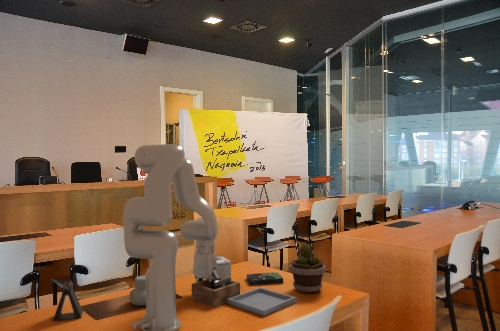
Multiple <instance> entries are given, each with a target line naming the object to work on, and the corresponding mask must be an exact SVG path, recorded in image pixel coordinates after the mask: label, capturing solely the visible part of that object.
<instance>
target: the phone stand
mask: <svg viewBox="0 0 500 331" xmlns="http://www.w3.org/2000/svg"><path fill="white" fill-rule="evenodd" d="M67 283H68V284H67ZM67 287H68V288H67ZM66 296H68V298H69V303H70V304H71V308H72V311H73V312H66V313H65V312H64V313H62V312H63V309H64V305H65V304H64V303H65V301H66V300H65V299H66ZM83 311H84V310H83V309H82V305H81V304H80V301H79V299H78V297H77V294H76V292H75V290H74V282H73V281H72V280H69V282H68V280H66V281H64V283H63V285H62V288H61V297H60V299H59V302H58V305H57V307H56V310H55V313H54V316H53V318H52V322H53V321H56V322H63V321H69V320H70V321H72V320H71V319H73V320H79V319H78V318H80V319H82V316H83Z"/></svg>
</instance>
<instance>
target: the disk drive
mask: <svg viewBox="0 0 500 331" xmlns="http://www.w3.org/2000/svg"><path fill="white" fill-rule="evenodd" d="M246 280H247V282H248V284H249V285H250V286H263V285H262V284H265V285H272V284H271V283H281V284H284V278H283V276H282V275H281V274H280V273H279V272H261V273H249V274H248V273H247V274H246Z"/></svg>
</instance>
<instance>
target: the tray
mask: <svg viewBox="0 0 500 331" xmlns="http://www.w3.org/2000/svg"><path fill="white" fill-rule="evenodd" d="M296 303H297V297H296V296H293V295H289V294H286V293H282V292H279V291H275V290H272V289H268V288H264V287H257V288H254V289H251V290H248V291H246V292H242V293H240V294H239V295H237V296H234V297H231V298H228V299H227V303H226V304H227V305H229V306H232V307H235V308H238V309H240V310H244V311H247V312H250V313H252V314H255V315H258V316H261V317H266V316H269V315H271V314H273V313H275V312H277V311H280V310H282V309H285V308H286V307H289V306H292V305H294V304H296Z"/></svg>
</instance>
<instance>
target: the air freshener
mask: <svg viewBox="0 0 500 331" xmlns="http://www.w3.org/2000/svg"><path fill="white" fill-rule="evenodd" d="M129 299H130V302H131V304H132V305H134V306H136V307H138V306H139V307H142V306H146V274H144V275H139V276H136V277H135V278H134V288H133V289H132V290H131V291H130V292H129Z"/></svg>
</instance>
